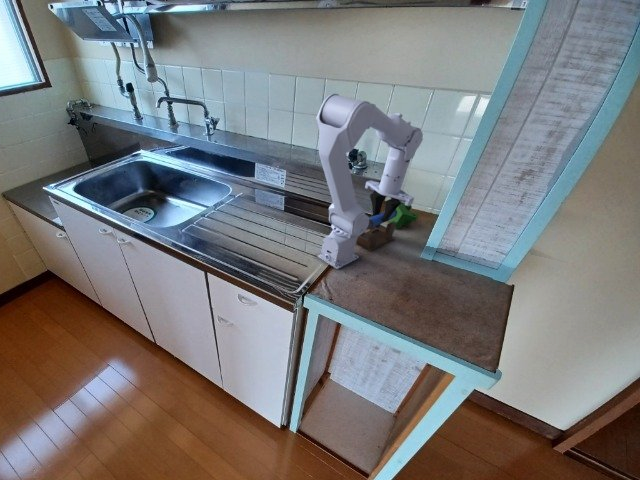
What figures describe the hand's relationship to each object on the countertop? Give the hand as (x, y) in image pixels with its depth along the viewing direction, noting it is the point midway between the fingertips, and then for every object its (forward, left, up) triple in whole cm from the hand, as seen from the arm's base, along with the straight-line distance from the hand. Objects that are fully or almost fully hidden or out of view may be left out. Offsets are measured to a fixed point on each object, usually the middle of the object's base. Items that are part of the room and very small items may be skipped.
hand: (380, 218), depth 97 cm
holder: (0, +1, -8) cm, 8 cm away
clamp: (+17, +3, -8) cm, 19 cm away
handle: (0, 0, -2) cm, 2 cm away
